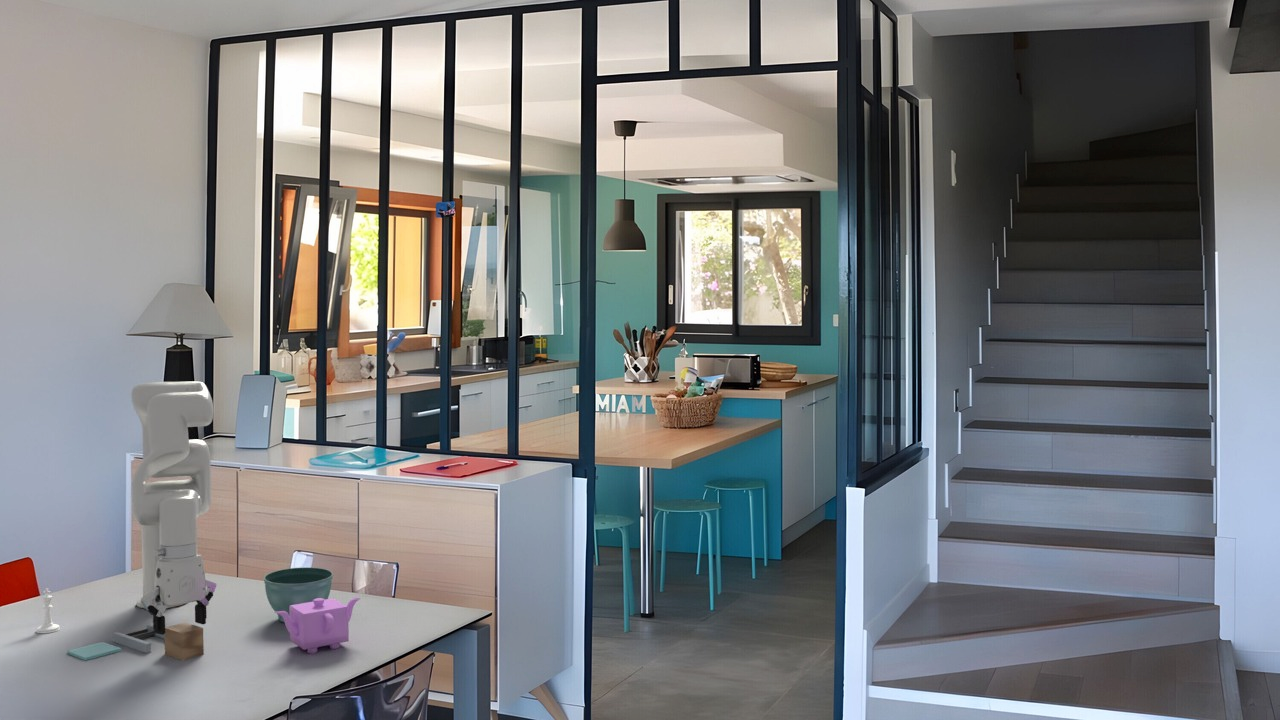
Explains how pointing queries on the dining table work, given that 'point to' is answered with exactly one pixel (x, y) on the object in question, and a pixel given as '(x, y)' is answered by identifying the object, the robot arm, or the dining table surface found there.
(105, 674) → the dining table surface
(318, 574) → the green bowl
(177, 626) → the walnut block
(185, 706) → the dining table surface
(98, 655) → the pad
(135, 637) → the grey twin-rail rack
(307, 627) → the teapot
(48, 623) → the chess piece
